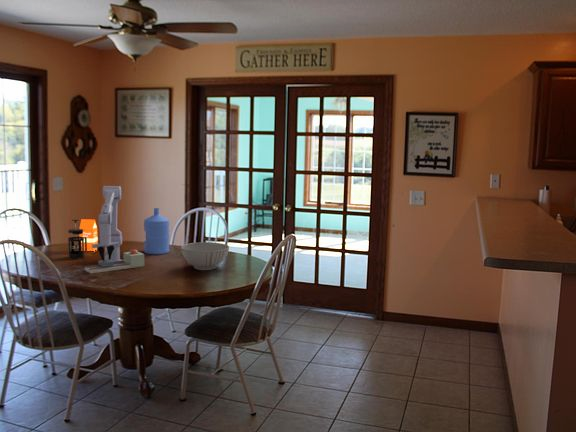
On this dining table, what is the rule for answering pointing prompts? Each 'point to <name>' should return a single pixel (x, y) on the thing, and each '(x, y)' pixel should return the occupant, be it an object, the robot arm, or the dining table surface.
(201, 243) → the decorative bowl
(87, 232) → the orange juice
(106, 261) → the carriage
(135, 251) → the plunger
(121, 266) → the track
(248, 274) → the dining table surface
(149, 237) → the water jug
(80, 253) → the french press
